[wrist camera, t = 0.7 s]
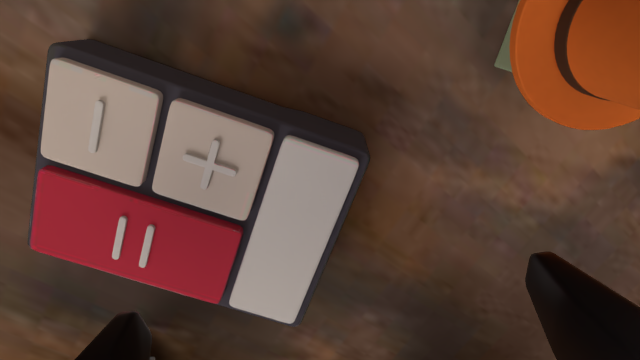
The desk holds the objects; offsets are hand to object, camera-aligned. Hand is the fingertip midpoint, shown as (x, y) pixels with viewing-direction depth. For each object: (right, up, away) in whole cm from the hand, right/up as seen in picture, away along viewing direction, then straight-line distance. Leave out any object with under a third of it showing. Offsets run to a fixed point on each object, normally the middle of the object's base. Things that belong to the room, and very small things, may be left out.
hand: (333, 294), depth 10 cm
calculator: (-7, +3, +14) cm, 16 cm away
